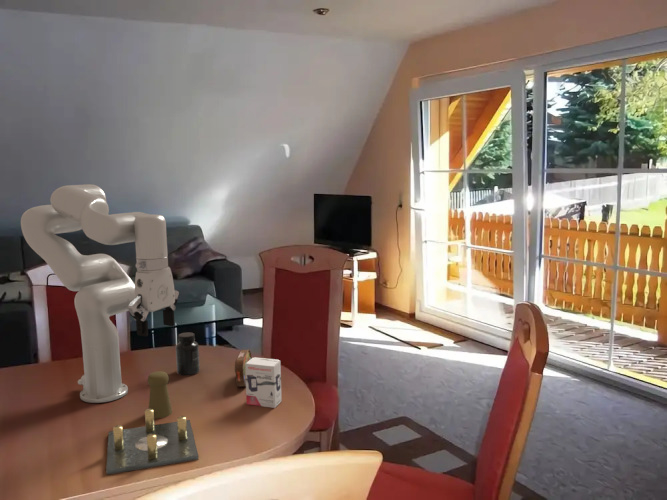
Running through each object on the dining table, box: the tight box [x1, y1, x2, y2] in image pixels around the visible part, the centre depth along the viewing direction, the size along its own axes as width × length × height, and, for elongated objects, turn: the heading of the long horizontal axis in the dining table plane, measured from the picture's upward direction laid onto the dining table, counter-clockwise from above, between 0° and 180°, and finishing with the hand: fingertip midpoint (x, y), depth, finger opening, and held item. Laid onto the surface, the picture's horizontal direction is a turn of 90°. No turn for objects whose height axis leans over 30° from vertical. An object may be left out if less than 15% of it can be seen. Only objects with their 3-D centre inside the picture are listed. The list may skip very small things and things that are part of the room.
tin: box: [234, 349, 253, 388], centre depth 178 cm, size 15×3×8 cm, turn 179°
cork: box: [147, 371, 173, 419], centre depth 156 cm, size 6×6×11 cm
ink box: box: [245, 356, 282, 409], centre depth 162 cm, size 8×5×12 cm, turn 73°
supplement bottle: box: [175, 331, 200, 377], centre depth 186 cm, size 7×7×12 cm
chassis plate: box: [105, 408, 199, 476], centre depth 139 cm, size 19×19×6 cm
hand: (156, 330), depth 154 cm, fingers open, 9 cm apart
